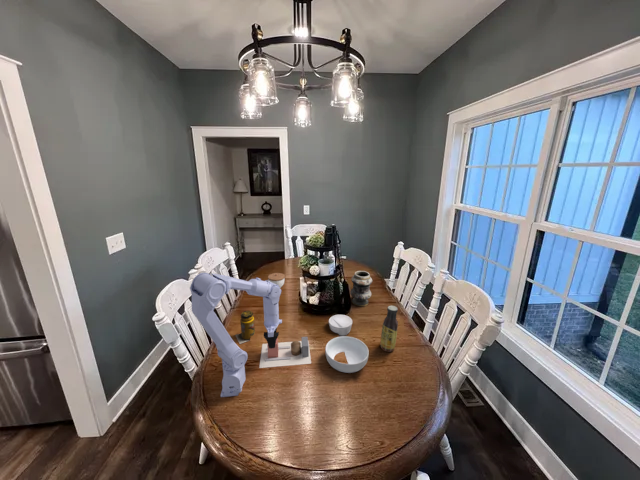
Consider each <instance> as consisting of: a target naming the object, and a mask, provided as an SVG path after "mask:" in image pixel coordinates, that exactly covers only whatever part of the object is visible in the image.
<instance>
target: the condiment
mask: <svg viewBox="0 0 640 480" xmlns="http://www.w3.org/2000/svg"><path fill="white" fill-rule="evenodd" d="M239 321H240V322H239V323H240V333H236V334H235V335H234V336H235V337H236V340H237V342H238V343H239V345H241V344H244V343H246V342H251V337H254V336H255V334H256V327H255V317H254V313H253V311H252V310H243V312H242V313H240V320H239Z"/></svg>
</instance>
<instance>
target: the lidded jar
mask: <svg viewBox="0 0 640 480" xmlns="http://www.w3.org/2000/svg"><path fill="white" fill-rule="evenodd" d="M285 279H286V276H285V273H281V272H273V273H270V274H268V276H267V280H268V281H270V282H272V283H274V284H277V285H278V286H279V287H280V289H281V288H282V287H283V286H284V284H285Z"/></svg>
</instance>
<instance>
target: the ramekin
mask: <svg viewBox="0 0 640 480" xmlns="http://www.w3.org/2000/svg"><path fill="white" fill-rule="evenodd" d="M328 325H329V329H330V330H331V331H332V332H333V333H335V334H338V337H341V336H347V335H348V334H349V333H350V332H351V329H352V325H353V319H352V318H351V317H350V316H348V315H345V314H335V315H332V316H331V317H330V318H329V319H328Z"/></svg>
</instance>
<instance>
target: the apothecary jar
mask: <svg viewBox="0 0 640 480" xmlns="http://www.w3.org/2000/svg"><path fill="white" fill-rule="evenodd" d="M350 281H351V283H353V284H352V288H351V290H350V292H349V293H350V296H351V297H352V300H351V303H352V304H353V305H354V306H358V307H366V306H368V305H369V303H370V302H369V299H370V298H371V297H372V291H371V290H370V287H371V286H370V285H372V283H373V279H372V277H371V275H370V273H369V272H368V271H365V270H357V271H355V272H354V275H352V276H351V280H350Z"/></svg>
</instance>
